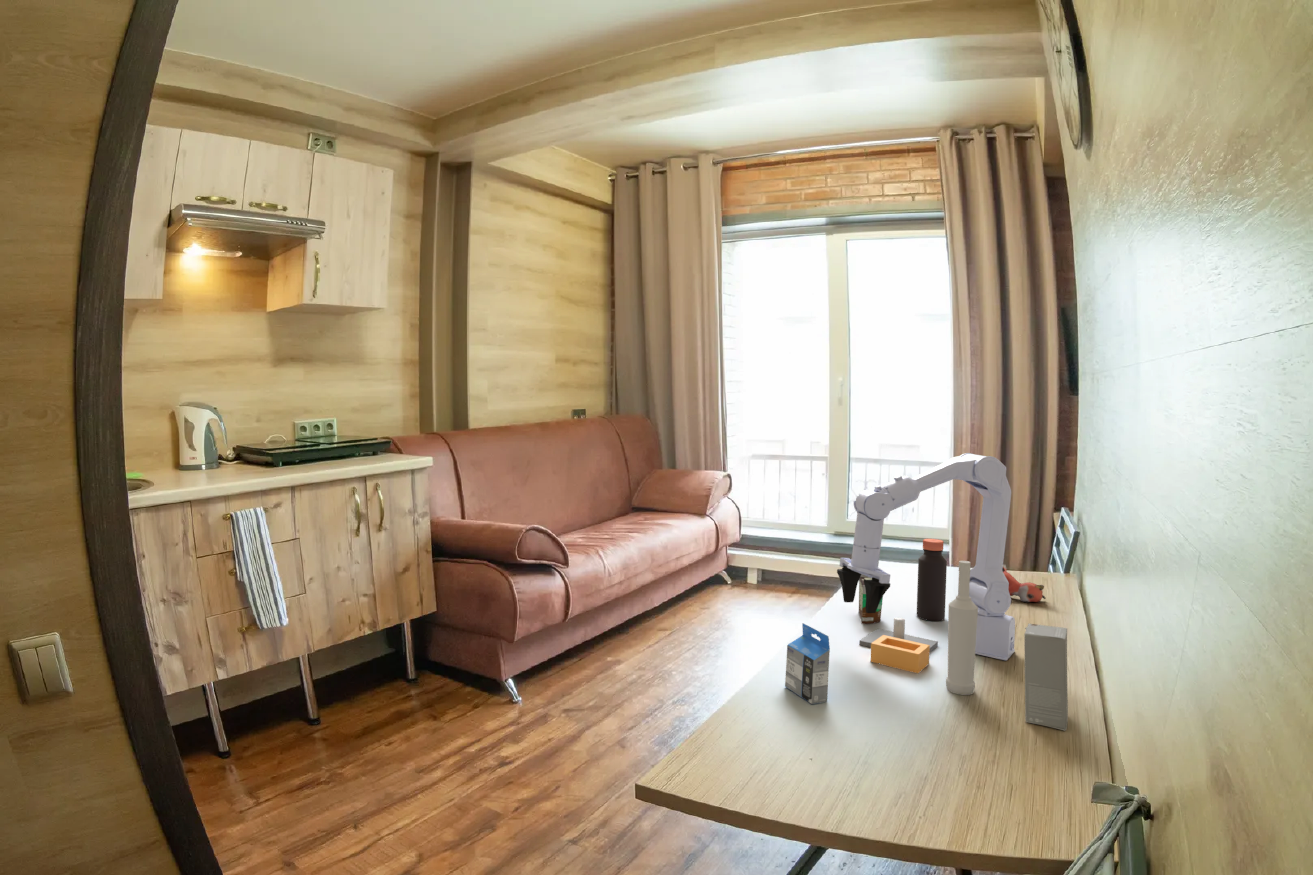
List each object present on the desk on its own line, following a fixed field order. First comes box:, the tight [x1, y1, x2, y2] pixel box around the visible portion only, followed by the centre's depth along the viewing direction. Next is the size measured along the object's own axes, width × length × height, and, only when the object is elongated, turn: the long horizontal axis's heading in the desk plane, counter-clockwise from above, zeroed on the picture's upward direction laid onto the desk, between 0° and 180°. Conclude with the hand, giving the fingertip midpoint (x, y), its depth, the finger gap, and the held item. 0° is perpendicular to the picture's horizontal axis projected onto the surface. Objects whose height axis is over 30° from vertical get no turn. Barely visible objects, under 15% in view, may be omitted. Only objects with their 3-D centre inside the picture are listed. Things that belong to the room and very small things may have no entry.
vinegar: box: [916, 538, 948, 622], centre depth 181 cm, size 7×7×20 cm
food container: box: [858, 574, 884, 625], centre depth 180 cm, size 12×6×10 cm, turn 168°
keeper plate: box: [859, 617, 939, 654], centre depth 161 cm, size 14×11×6 cm
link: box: [870, 635, 931, 674], centre depth 150 cm, size 10×7×4 cm
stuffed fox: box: [1002, 564, 1046, 603], centre depth 200 cm, size 8×11×12 cm
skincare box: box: [1023, 623, 1069, 732], centre depth 125 cm, size 8×7×16 cm
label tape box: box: [784, 623, 831, 705], centre depth 134 cm, size 9×4×12 cm, turn 23°
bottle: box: [945, 560, 978, 696], centre depth 136 cm, size 5×5×25 cm
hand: (859, 607), depth 155 cm, fingers open, 7 cm apart
